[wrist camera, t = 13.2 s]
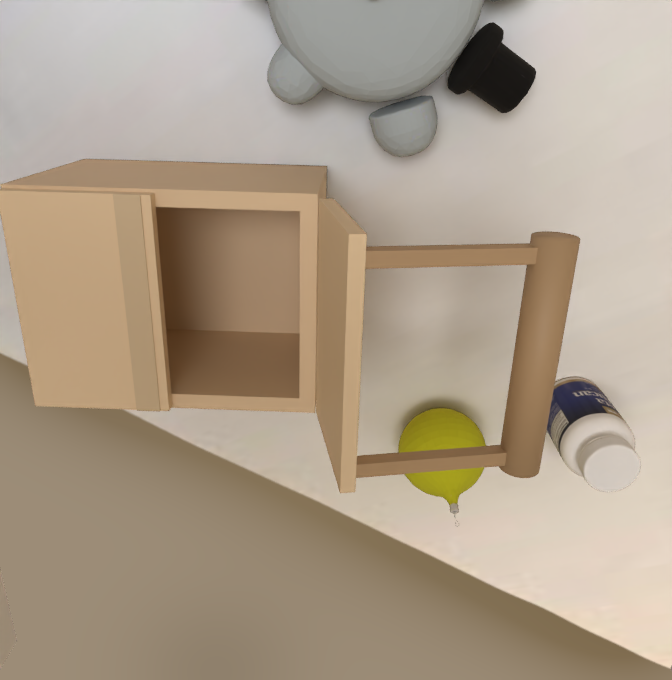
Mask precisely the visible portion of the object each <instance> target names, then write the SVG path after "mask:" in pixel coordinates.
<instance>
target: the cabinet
mask: <svg viewBox="0 0 672 680" xmlns="http://www.w3.org/2000/svg"><path fill="white" fill-rule="evenodd" d="M326 182H327V166H309V165H275V164H241V163H207V162H173V161H139V160H105V159H83V160H79V161H76V162H73V163H69V164H66V165H63V166H59V167H56V168H53V169H50V170H46V171H43V172H40V173H36V174H33V175H30V176H27V177H23V178H20V179H17V180H13V181H10V182H7V183H4V184H1V189H0V213H1V219H2V224H3V230H4V235H5V241H6V247H7V252H8V258H9V263H10V269H11V274H12V280H13V285H14V291H15V296H16V302H17V307H18V313H19V319H20V324H21V330H22V335H23V341H24V346H25V352H26V357H27V363H28V368H29V374H30V379H31V384H32V390H33V396H34V401H35V406H48V407H76V408H77V407H78V408H103V409H104V408H105V409H131V410H137V411H169V410H170V408H199V409H226V410H254V411H282V412H309V413H315V407H316V397H317V329H318V261H319V199H326Z"/></svg>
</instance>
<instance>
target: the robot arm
mask: <svg viewBox="0 0 672 680" xmlns="http://www.w3.org/2000/svg"><path fill="white" fill-rule="evenodd" d="M16 642H17V639H16V634H15V630H14V626H13V621H12V617H11V613H10V608H9V604H8V600H7V596H6V591H5V587H4V582H3V578H2V574H1V569H0V669H1V667H2V665H3V664H4V662H5V660H6V659H7V657H8V655H9V654H10V652H11V650H12V649H13V647H14V645H15V644H16ZM671 671H672V666H671Z"/></svg>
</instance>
